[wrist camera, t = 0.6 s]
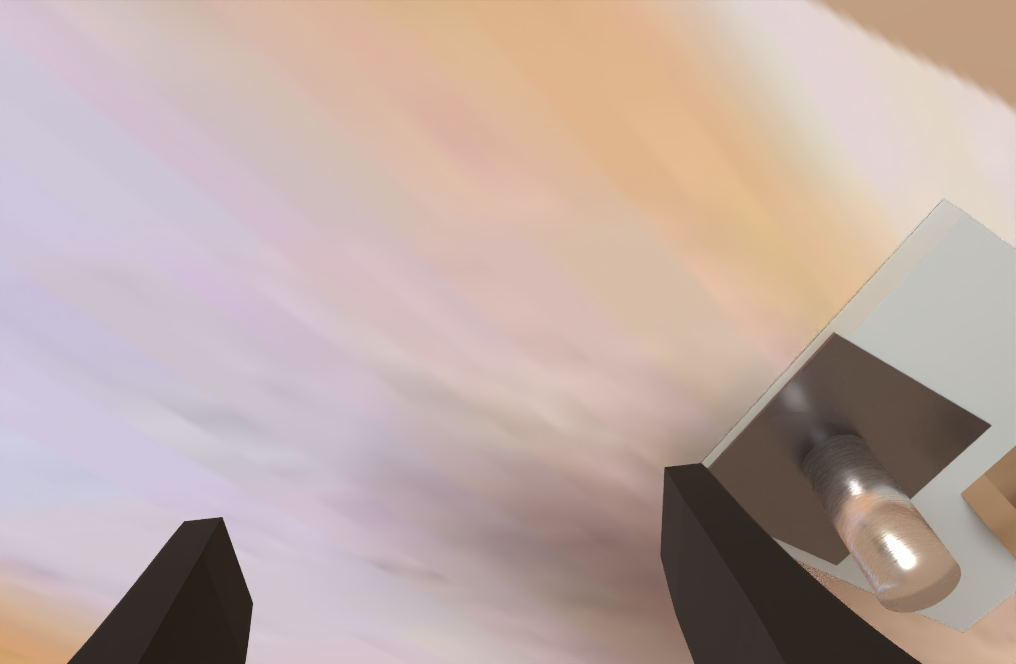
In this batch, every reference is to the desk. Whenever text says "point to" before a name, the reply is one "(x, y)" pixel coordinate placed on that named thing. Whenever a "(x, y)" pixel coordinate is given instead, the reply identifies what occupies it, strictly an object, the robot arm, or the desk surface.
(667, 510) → the robot arm
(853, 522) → the post
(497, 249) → the desk surface
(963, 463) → the board
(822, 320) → the desk surface
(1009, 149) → the desk surface
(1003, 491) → the collar
